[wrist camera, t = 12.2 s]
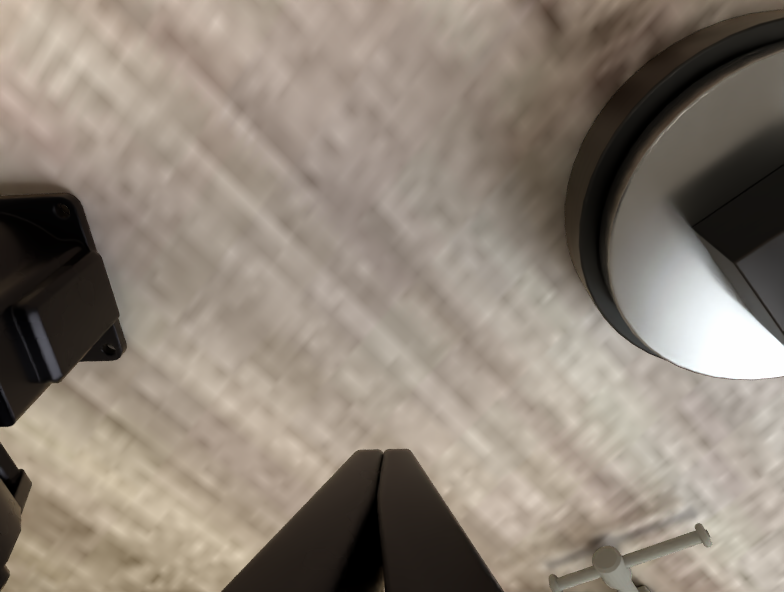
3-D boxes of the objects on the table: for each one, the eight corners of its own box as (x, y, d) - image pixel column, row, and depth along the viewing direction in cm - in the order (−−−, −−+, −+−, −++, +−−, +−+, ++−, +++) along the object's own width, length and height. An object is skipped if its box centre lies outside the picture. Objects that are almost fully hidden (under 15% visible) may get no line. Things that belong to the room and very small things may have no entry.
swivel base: (552, 343, 22) (565, 376, 20) (579, 21, 17) (600, 25, 15) (856, 334, 21) (899, 367, 19) (980, -3, 16) (1053, -2, 14)
